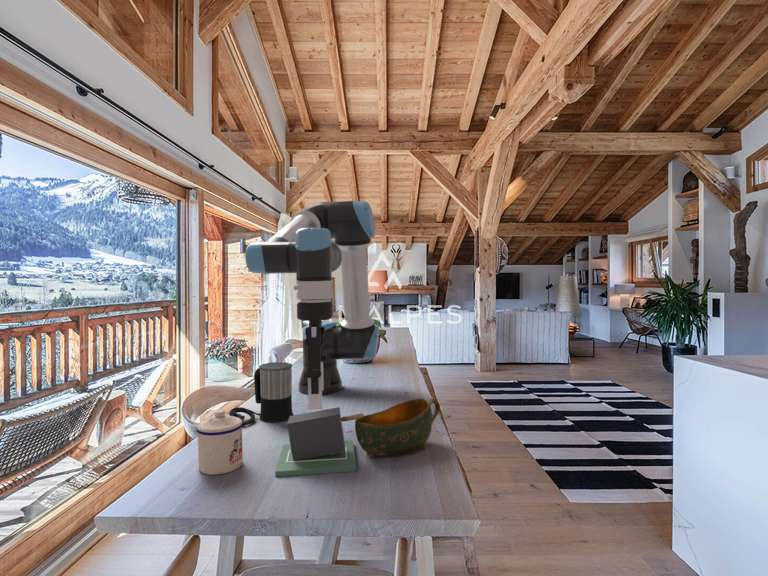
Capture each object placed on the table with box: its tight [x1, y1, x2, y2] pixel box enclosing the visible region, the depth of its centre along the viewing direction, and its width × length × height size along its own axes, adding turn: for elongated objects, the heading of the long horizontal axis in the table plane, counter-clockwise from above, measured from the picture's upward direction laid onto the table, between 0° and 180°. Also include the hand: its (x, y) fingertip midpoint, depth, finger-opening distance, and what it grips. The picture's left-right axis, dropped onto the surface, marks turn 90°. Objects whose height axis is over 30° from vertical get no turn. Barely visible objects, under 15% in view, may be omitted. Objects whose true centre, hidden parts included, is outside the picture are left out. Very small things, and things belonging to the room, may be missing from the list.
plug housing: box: [286, 406, 365, 461], centre depth 94 cm, size 5×16×8 cm, turn 96°
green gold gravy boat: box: [354, 397, 441, 459], centre depth 99 cm, size 13×20×10 cm, turn 92°
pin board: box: [274, 439, 357, 477], centre depth 94 cm, size 14×16×4 cm
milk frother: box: [228, 361, 294, 426], centre depth 120 cm, size 14×16×15 cm
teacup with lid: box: [196, 409, 244, 476], centre depth 92 cm, size 12×9×12 cm
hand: (316, 399), depth 94 cm, fingers open, 13 cm apart
